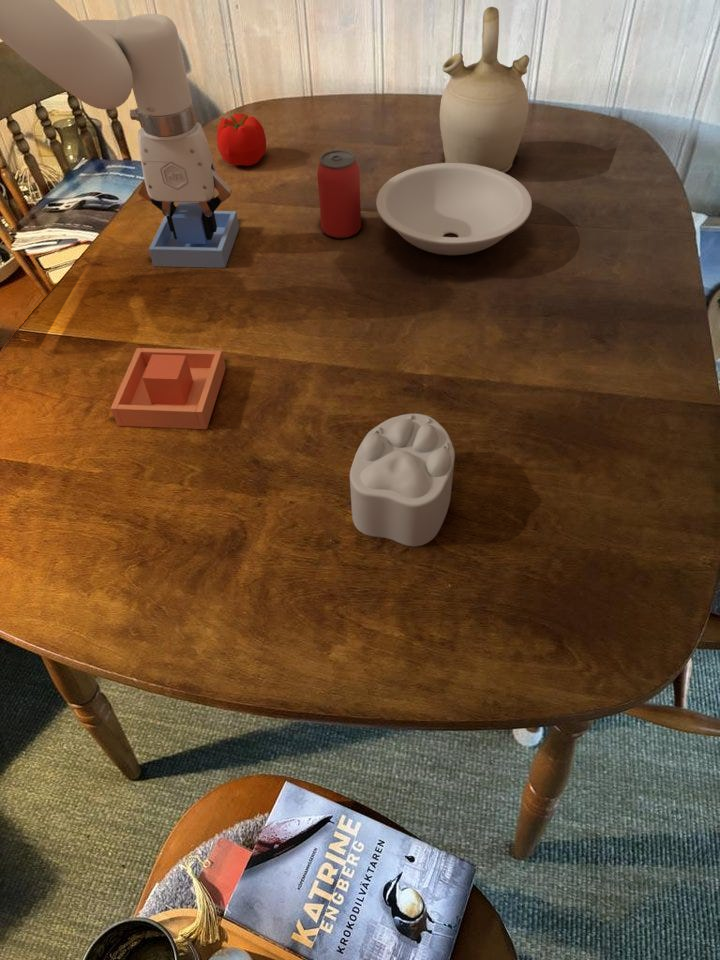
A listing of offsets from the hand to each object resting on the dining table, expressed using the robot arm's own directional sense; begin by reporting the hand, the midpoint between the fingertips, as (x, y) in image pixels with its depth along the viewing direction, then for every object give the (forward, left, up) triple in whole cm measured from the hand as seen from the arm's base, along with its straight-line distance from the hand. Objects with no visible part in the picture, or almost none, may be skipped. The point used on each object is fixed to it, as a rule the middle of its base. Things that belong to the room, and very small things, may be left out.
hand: (194, 234), depth 115 cm
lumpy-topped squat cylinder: (+36, -50, -2) cm, 62 cm away
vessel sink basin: (+41, +4, -2) cm, 41 cm away
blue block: (0, 0, 0) cm, 0 cm away
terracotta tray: (+5, -35, -2) cm, 35 cm away
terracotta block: (+5, -35, -2) cm, 35 cm away
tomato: (+2, +29, -2) cm, 29 cm away
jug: (+46, +29, -2) cm, 54 cm away
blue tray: (0, 0, -2) cm, 2 cm away
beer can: (+23, +6, -2) cm, 24 cm away
